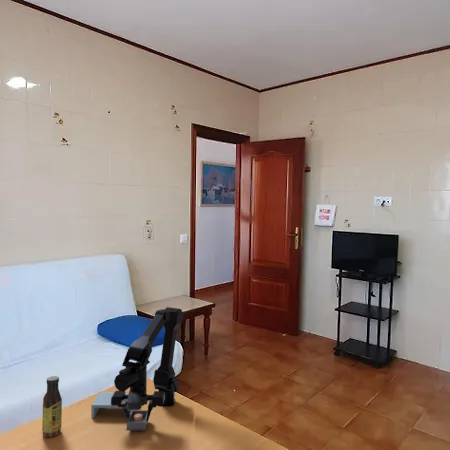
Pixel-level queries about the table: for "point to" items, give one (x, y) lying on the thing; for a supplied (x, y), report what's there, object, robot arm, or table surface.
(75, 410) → the table surface
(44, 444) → the table surface
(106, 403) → the grey small bench
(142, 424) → the tray
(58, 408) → the sauce bottle
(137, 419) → the tan rounded dome
